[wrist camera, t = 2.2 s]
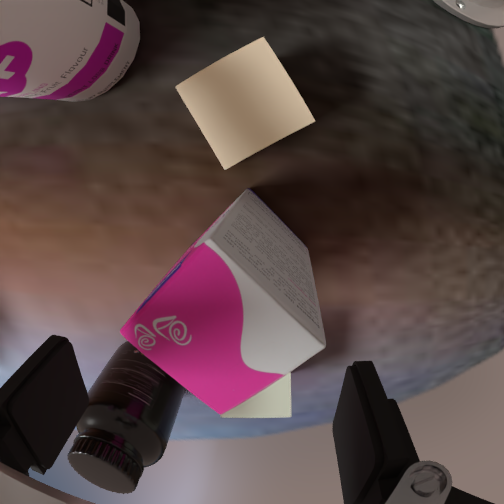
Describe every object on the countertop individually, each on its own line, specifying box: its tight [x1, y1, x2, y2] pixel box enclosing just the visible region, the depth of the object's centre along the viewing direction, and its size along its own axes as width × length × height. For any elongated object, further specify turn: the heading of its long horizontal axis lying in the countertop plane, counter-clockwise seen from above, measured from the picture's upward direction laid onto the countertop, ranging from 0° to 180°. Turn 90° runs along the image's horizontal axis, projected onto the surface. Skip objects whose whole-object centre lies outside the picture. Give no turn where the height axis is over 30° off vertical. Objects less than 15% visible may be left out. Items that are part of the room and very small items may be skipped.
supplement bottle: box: [68, 341, 186, 494], centre depth 21 cm, size 7×7×12 cm
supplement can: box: [0, 0, 140, 102], centre depth 11 cm, size 8×8×15 cm
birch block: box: [176, 37, 315, 170], centre depth 17 cm, size 5×5×5 cm
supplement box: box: [120, 188, 326, 414], centre depth 17 cm, size 6×6×12 cm
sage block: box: [220, 372, 291, 418], centre depth 22 cm, size 5×5×5 cm
